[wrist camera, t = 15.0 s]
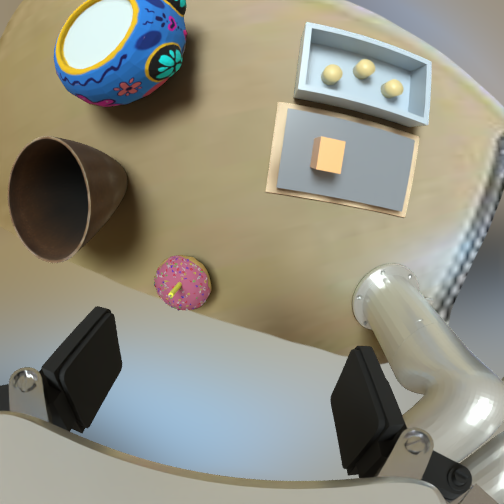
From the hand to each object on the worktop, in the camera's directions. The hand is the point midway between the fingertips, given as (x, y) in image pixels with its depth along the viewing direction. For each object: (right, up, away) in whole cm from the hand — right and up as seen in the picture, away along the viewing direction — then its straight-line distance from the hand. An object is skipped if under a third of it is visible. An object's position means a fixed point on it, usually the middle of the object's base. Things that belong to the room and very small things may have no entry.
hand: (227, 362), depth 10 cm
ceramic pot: (-15, +33, +23) cm, 44 cm away
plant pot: (-22, +15, +30) cm, 40 cm away
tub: (+16, +29, +23) cm, 40 cm away
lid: (+14, +17, +27) cm, 35 cm away
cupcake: (-9, +1, +35) cm, 36 cm away
